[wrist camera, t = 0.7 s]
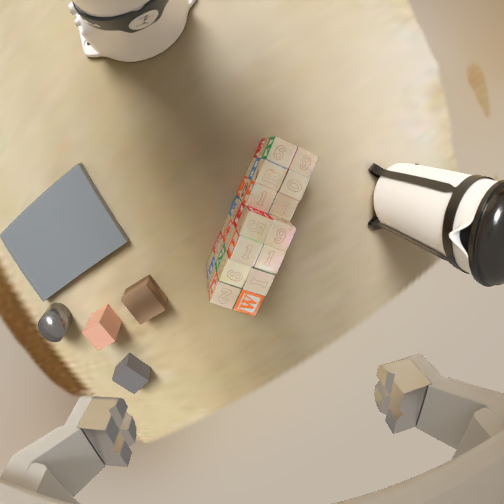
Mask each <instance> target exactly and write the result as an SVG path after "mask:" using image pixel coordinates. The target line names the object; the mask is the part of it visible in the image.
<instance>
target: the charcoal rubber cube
mask: <svg viewBox="0 0 504 504" xmlns="http://www.w3.org/2000/svg"><path fill="white" fill-rule="evenodd" d="M150 371H151V367H150V366H148V365H147V364H145V363H144V362H142V361H141V360H139V359H138V358H136V357H135V356H134V355H132V354H131V353H129V354H128V355H127V356H126V357H125V358H124V359H123V360H122V361H121V362H120V363H119V364H118V365H117V366H116V367H115V371H114V375H113V378H112V380H113V381H114V382H116V383H117V384H119V385H121V386H122V387H124V388H125V389H127V390H128V391H130V392H132V393H133V394H135V393H136V392H137V391H138V390H139V389H140V388H142V387H143V386H144V385H145V384H146V383H147V382H148V381H149V378H150Z"/></svg>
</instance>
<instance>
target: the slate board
mask: <svg viewBox="0 0 504 504" xmlns="http://www.w3.org/2000/svg"><path fill="white" fill-rule="evenodd" d="M0 238H1V239H2V241H3V243H4V244H5V246H6V248H7V249H8V251H9V252H10V254H11V256H12V257H13V259H14V260H15V262H16V263H17V265H18V267H19V268H20V270H21V271H22V273H23V274H24V275H25V277H26V278H27V280H28V281H29V283H30V284H31V286H32V287H33V288H34V290H35V291H36V292H37V294H38V295H39V297H40V298H41V299H42V301H43V302H44V301H45V300H46V299H48V298H49V297H50V296H52V295H53V294H54V293H56V292H57V291H58V290H60V289H61V288H62V287H64V286H65V285H66V284H68V283H69V282H70V281H72V280H73V279H75V278H76V277H77V276H79V275H80V274H81V273H83V272H84V271H86V270H87V269H89V268H90V267H91V266H93V265H94V264H96V263H97V262H99V261H100V260H101V259H103V258H104V257H106V256H107V255H109V254H110V253H112V252H113V251H115V250H116V249H118V248H119V247H121V246H122V245H124V244H125V243H127V241H128V240H129V239H128V237H127V236H126V234H125V233H124V231H123V230H122V228H121V227H120V225H119V223H118V222H117V220H116V219H115V217H114V216H113V214H112V213H111V211H110V209H109V208H108V206H107V205H106V203H105V201H104V200H103V198H102V196H101V195H100V193H99V192H98V190H97V188H96V187H95V185H94V183H93V182H92V180H91V178H90V176H89V175H88V173H87V171H86V170H85V168H84V166H83V164H82V163H79V164H77V165H76V166H75V167H73V168H72V169H71V170H70V171H68V172H67V173H66V174H65V175H64V176H62V177H61V178H60V179H59V180H58V181H56V182H55V183H54V184H53V185H52V186H51V187H49V188H48V189H47V190H46V191H45V192H44V193H43V194H42V195H40V196H39V197H38V198H37V199H36V200H35V201H34V202H33V203H32V204H31V205H30V206H28V207H27V208H26V209H25V210H24V211H23V212H22V213H21V214H20V215H19V216H18V217H17V218H16V219H15V220H14V221H13V222H12V223H11V224H10V225H9V226H8V227H7V228H6V229H5V230H4V231H3V232H2V233H1V234H0Z"/></svg>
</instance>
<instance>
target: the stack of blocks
mask: <svg viewBox="0 0 504 504" xmlns="http://www.w3.org/2000/svg"><path fill="white" fill-rule="evenodd" d="M318 159H319V157H318V156H316V155H314V154H312V153H310V152H308V151H306V150H304V149H302V148H300V147H297V146H295V145H293V144H291V143H289V142H287V141H285V140H283V139H280V138H278V137H276V136H274V137H270V138H263V139H262V140H261V142H260V144H259V147H258V149H257V151H256V153H255V156H254V157H253V159H252V161H251V163H250V165H249V167H248V170H247V172H246V174H245V176H244V178H243V181H242V183H241V185H240V187H239V190H238V192H237V196H236V198H235V200H234V202H233V205H232V207H231V209H230V211H229V214H228V216H227V219H226V221H225V223H224V226H223V228H222V230H221V232H220V234H219V236H218V239H217V241H216V243H215V245H214V248H213V250H212V252H211V254H210V257H209V259H208V261H207V264H206V271H207V281H208V282H207V284H208V292H209V302H210V303H213V304H216V305H219V306H222V307H225V308H228V309H233V310H235V311H238V312H242V313H245V314H249V315H252V316H256V314H257V312H258V310H259V307H260V305H261V303H262V301H263V299H264V297H265V296H266V295H267V293H268V291H269V288H270V286H271V284H272V282H273V280H274V277H275V274H276V273H277V272H278V270H279V268H280V265H281V263H282V261H283V259H284V257H285V254H286V251H287V249H288V247H289V245H290V243H291V240H292V238H293V236H294V234H295V231H296V228H295V227H294V226H293V225H292V224H291V223H290V221H291V218H292V216H293V214H294V212H295V210H296V207H297V205H298V203H299V201H300V200H301V198H302V196H303V194H304V192H305V189H306V187H307V185H308V183H309V181H310V179H309V178H310V176H311V174H312V172H313V170H314V168H315V165H316V163H317V161H318Z"/></svg>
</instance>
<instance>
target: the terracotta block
mask: <svg viewBox="0 0 504 504" xmlns="http://www.w3.org/2000/svg"><path fill="white" fill-rule="evenodd" d="M121 323H122V321H121V320H120V318H119V317H118V316H117V315H116V313H115V312H114V311H113V310H112V308H111V307H110V306H109V305H108V304H107V305H105V306H104V307H102V308H101V309H99V310H97V311H96V312H94V313H93V314H92V315H91V317H90V319H89V320H88V322H87V324H86V326H85V328H84V330H83V332H82V333H83V334H84V336H85V337H86V338H87V339H88V340H89V341H90V342H91V344H92V345H93V346H94V347H95V348H96V349H97V350H98V351H99V350H100V349H102V348H104V347H106V346H108V345H109V344H111V343H113V342H115V341H116V338H117V335H118V332H119V329H120V326H121Z"/></svg>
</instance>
